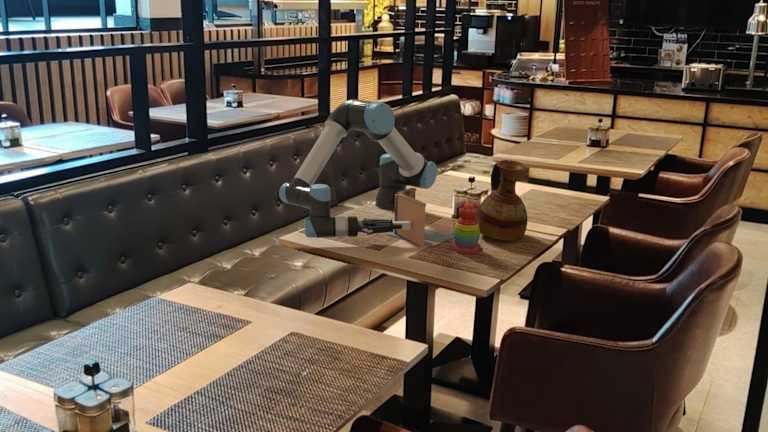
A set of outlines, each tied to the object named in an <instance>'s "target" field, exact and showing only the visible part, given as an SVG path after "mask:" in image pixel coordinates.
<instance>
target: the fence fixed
mask: <svg viewBox="0 0 768 432" xmlns="http://www.w3.org/2000/svg"><path fill="white" fill-rule="evenodd" d="M416 191H417V187H409V188H406V190H404V191H401V192H397V194H404V195H407V196H409V197H411V198H414V199H416V193H417V192H416ZM397 194H395V209H394V220H393V221H397V213H398V196H397ZM393 231H394V234H397V230H393Z"/></svg>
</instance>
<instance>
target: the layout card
mask: <svg viewBox="0 0 768 432" xmlns="http://www.w3.org/2000/svg"><path fill="white" fill-rule="evenodd" d="M385 235H386V236H388V237H392V238H398V239H401V240H405V241H408V242H412V243H414V242H413V241H411V240H409V239H407V238H405V237H403V236H401V235H399V234H394V230H393V232H386V233H385ZM451 239H454V234H453V235H452V234H448V233H444V232H440V231H436V230H431V229H428V228H425V236H424V245H423V246H429V247H433V248H435V247H436V246H439V245H441V244H443V243H445V242H448V241H450V240H451Z"/></svg>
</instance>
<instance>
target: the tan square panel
mask: <svg viewBox="0 0 768 432" xmlns="http://www.w3.org/2000/svg"><path fill="white" fill-rule="evenodd" d="M397 196H398V213H397V221H410V222H411V229H408V230H397V234H399V235H401V236H403V237H405V238H407V239H409V240H411V241H410V242H412V241H413V242H412V243H415V244H417V245H418V246H425V245H424V236H425V229H426V207H427V203H425V202H423V201H421V200H418V199H416V198H415V199H414V198H411V197H409V196H407V195H404V194H397Z"/></svg>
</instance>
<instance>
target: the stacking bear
mask: <svg viewBox="0 0 768 432" xmlns="http://www.w3.org/2000/svg"><path fill="white" fill-rule="evenodd" d="M478 208H479V205H478V204H477V203H472V202H465V203H462V202H461V203H460V204H459V208H458V215H459V218H457V221H456V223H455V225H454V230H453V236H454V238H453V239H454V241H453V242H452V243H451V246H450V247H451V249H452V250H453V251H454V252H456V253H458V254H460V255H473V254H476V253H479V252H480V251H481V249H482V246H481V243H479V241H480V240H479V239H480V236H481V233H480V229H479V223H478V221H477V219H476V216H477V211H478Z"/></svg>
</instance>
